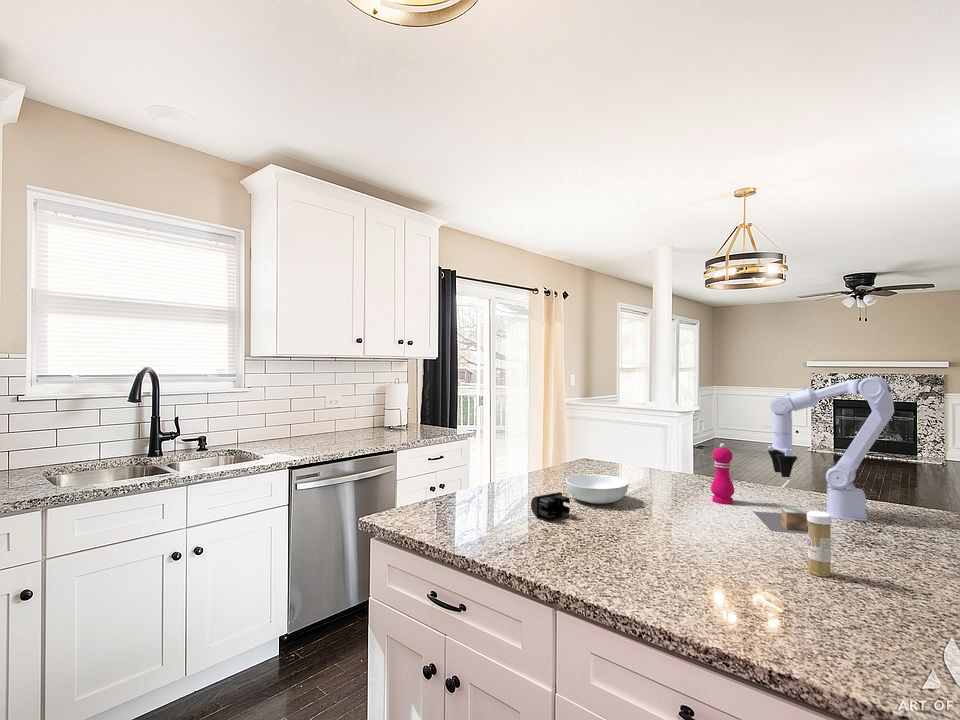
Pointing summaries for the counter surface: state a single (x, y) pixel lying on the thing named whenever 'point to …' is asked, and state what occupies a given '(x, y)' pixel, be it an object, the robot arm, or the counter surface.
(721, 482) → the pepper mill
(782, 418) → the robot arm
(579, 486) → the serving bowl
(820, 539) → the sprinkles bottle
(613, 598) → the counter surface
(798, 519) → the cube
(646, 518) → the counter surface
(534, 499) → the end cap
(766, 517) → the mat
